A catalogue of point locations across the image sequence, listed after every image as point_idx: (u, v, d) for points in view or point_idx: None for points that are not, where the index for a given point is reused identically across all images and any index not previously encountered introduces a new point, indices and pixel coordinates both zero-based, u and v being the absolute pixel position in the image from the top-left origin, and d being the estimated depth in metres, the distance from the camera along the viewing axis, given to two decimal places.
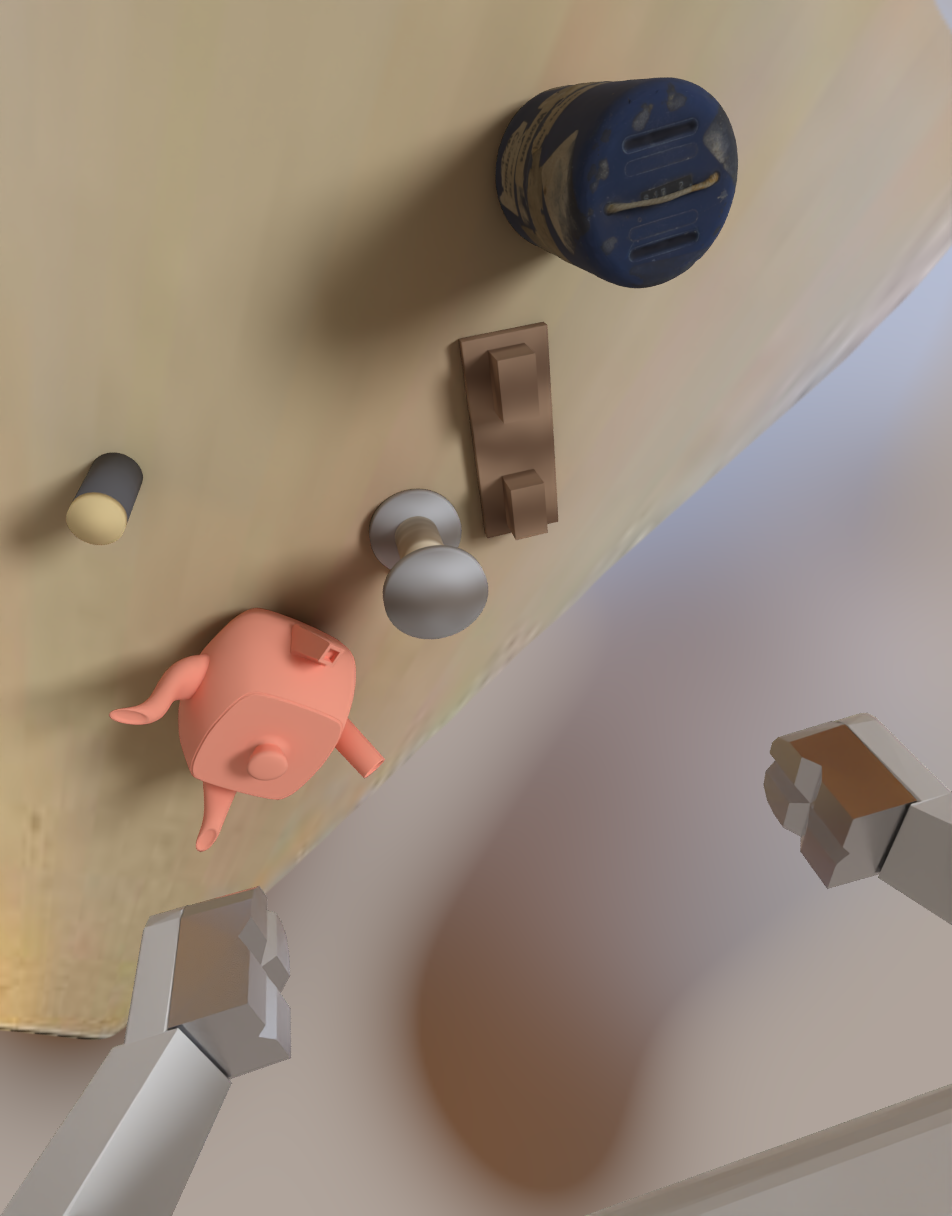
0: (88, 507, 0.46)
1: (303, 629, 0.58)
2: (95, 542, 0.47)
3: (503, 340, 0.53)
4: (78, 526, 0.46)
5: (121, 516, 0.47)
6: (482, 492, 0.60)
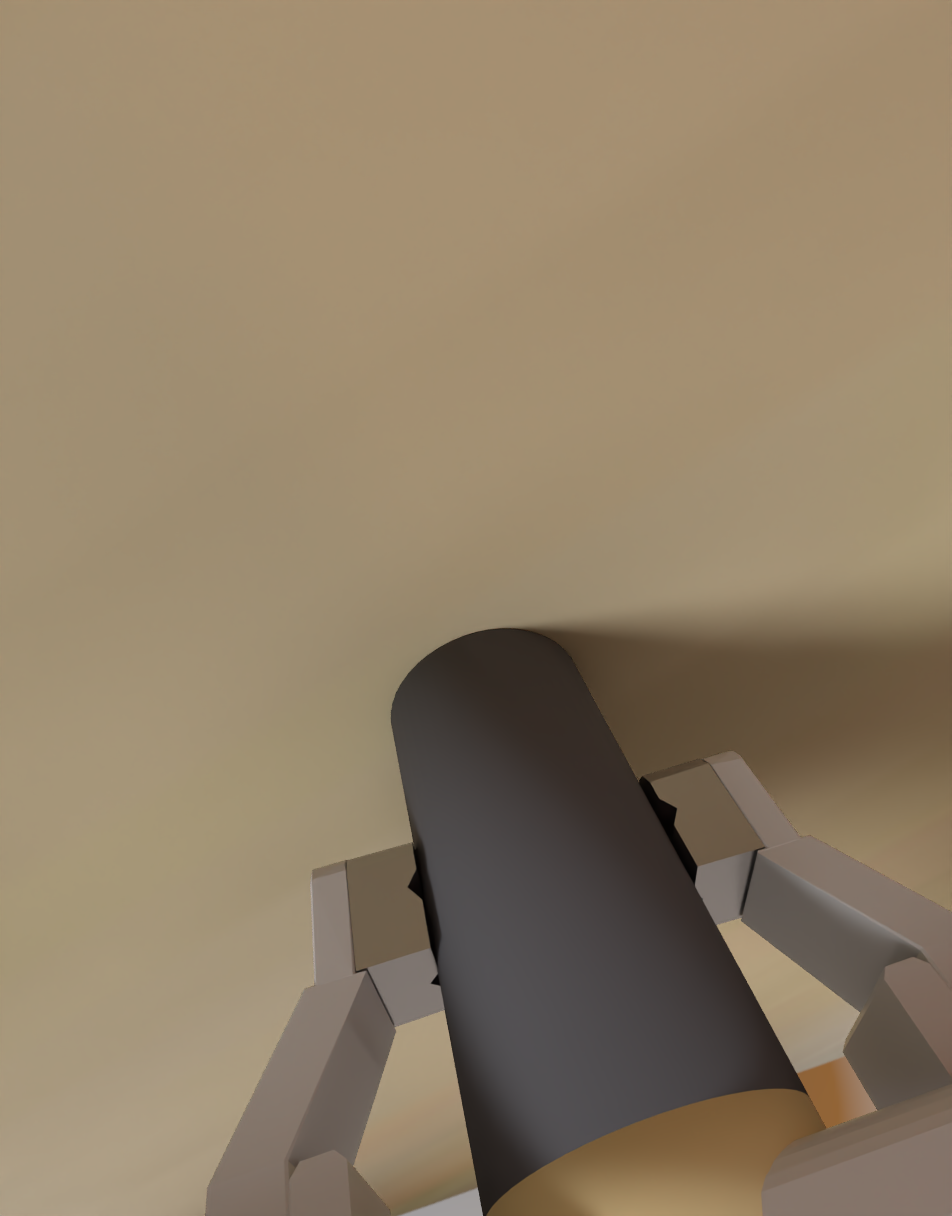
0: None
1: None
2: None
3: None
4: None
5: None
6: None
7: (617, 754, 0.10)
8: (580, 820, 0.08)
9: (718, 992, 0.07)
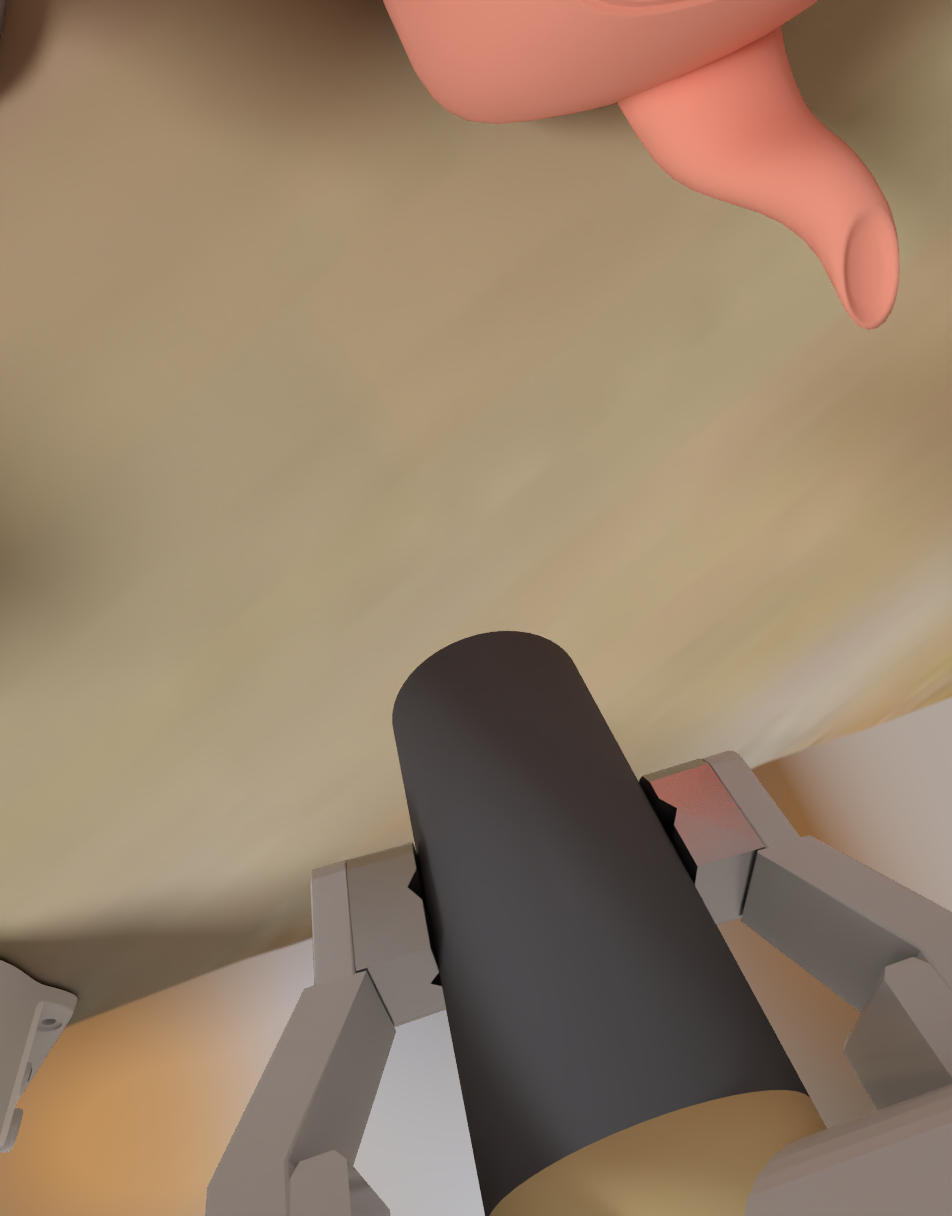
0: None
1: None
2: None
3: None
4: None
5: None
6: None
7: (618, 756, 0.10)
8: (581, 822, 0.08)
9: (720, 994, 0.07)
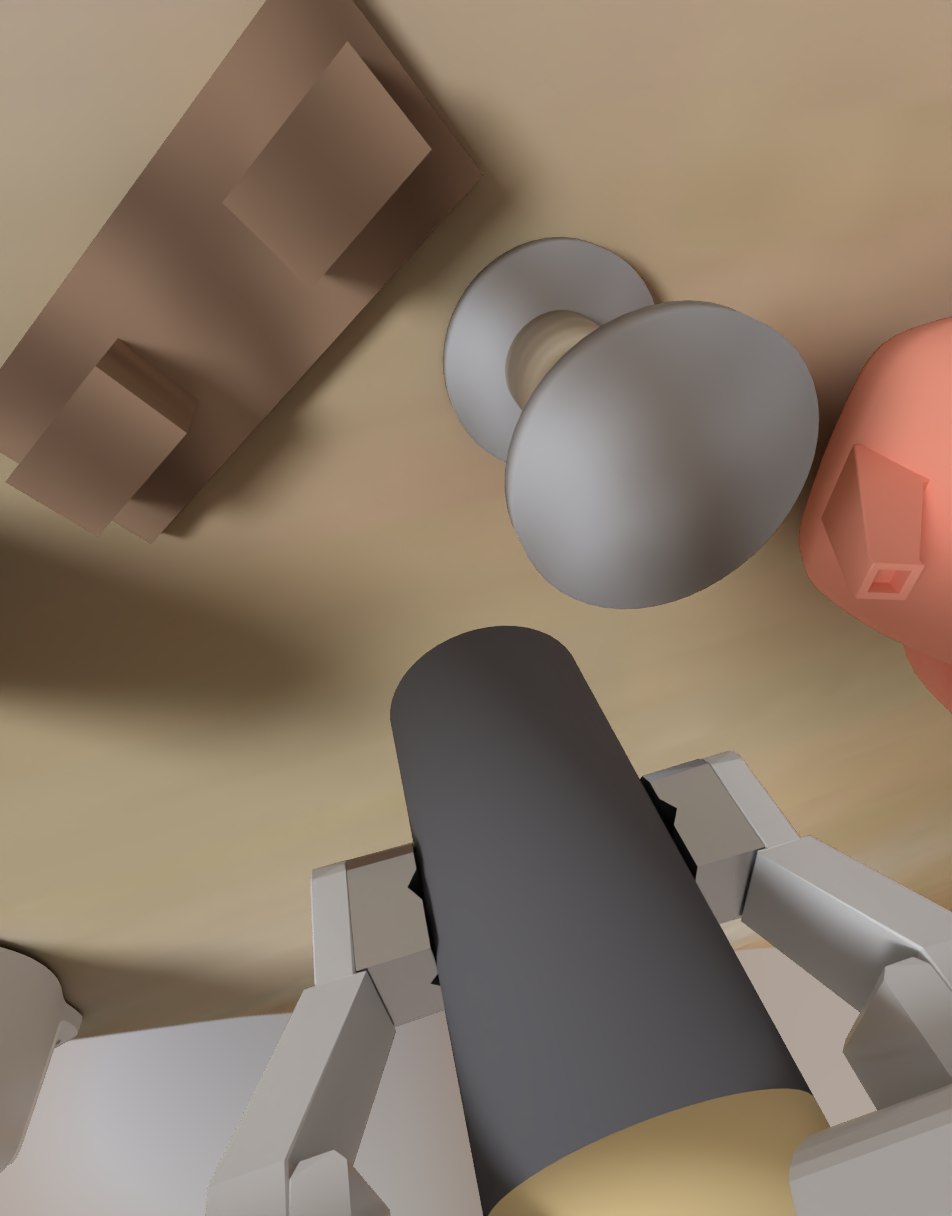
0: None
1: None
2: None
3: None
4: None
5: None
6: (378, 287, 0.23)
7: (618, 751, 0.10)
8: (580, 818, 0.08)
9: (721, 991, 0.07)
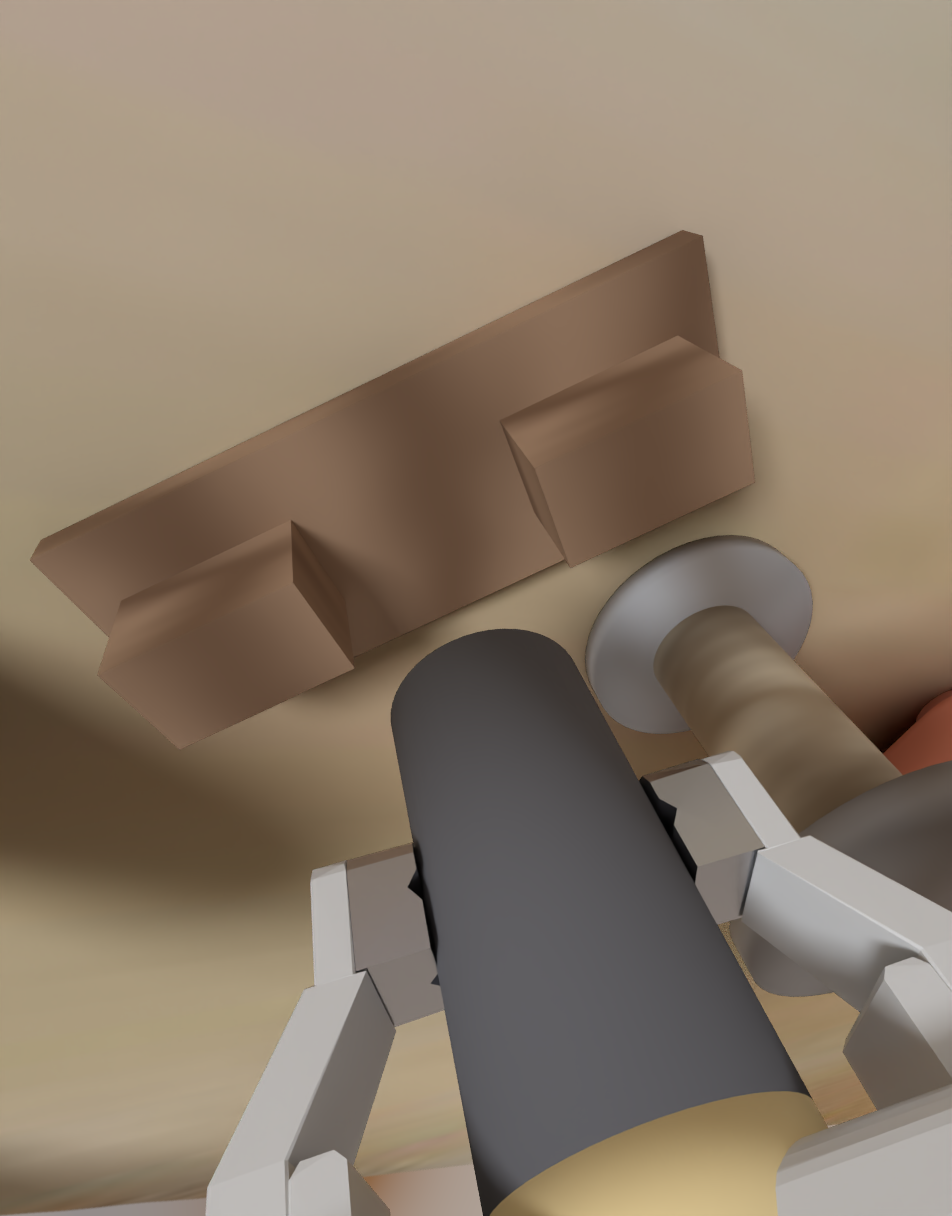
0: None
1: None
2: None
3: None
4: None
5: None
6: None
7: (618, 754, 0.10)
8: (581, 821, 0.08)
9: (720, 994, 0.07)
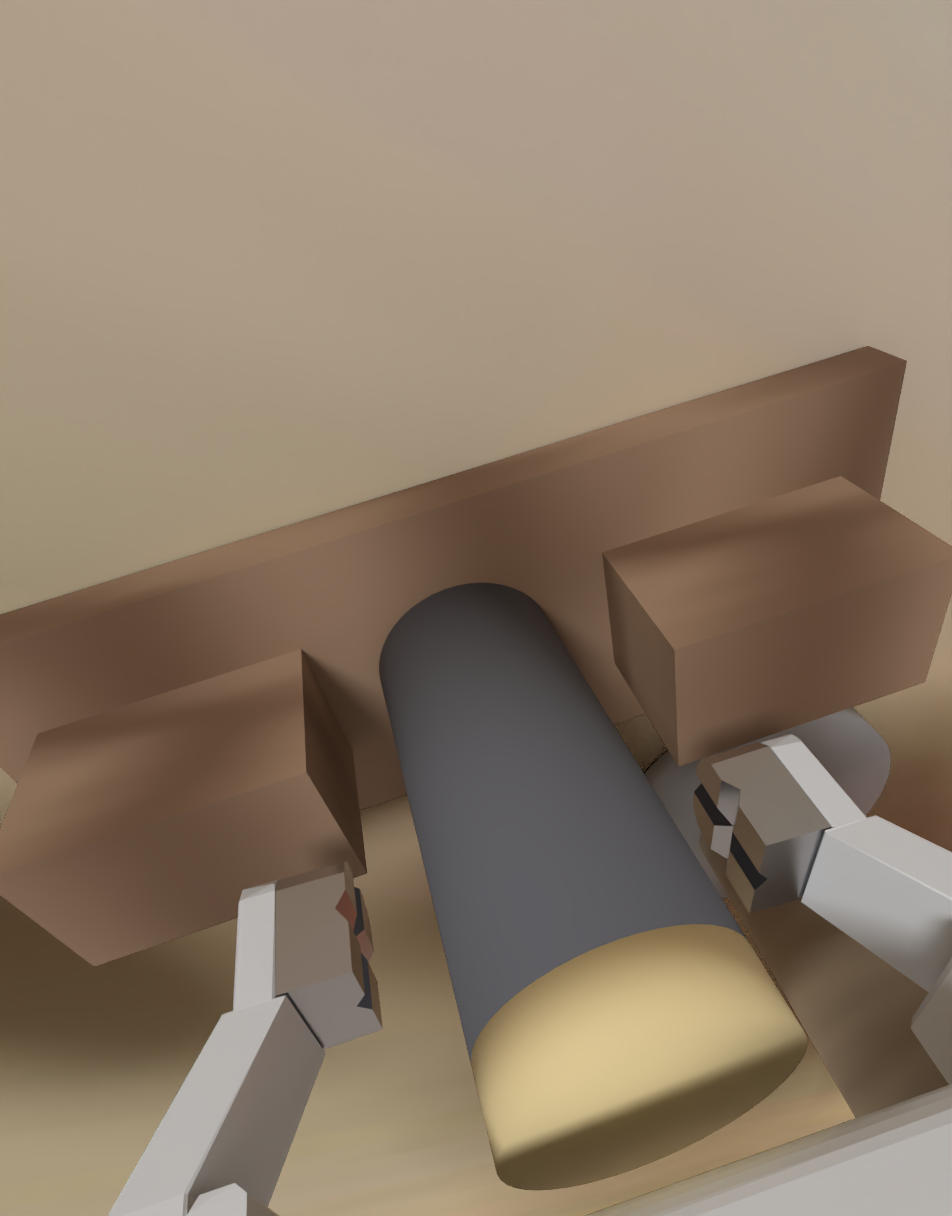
0: (592, 1163, 0.08)
1: None
2: (785, 1038, 0.07)
3: None
4: (728, 1103, 0.08)
5: (525, 1123, 0.06)
6: None
7: (584, 684, 0.11)
8: (549, 730, 0.09)
9: (669, 857, 0.08)
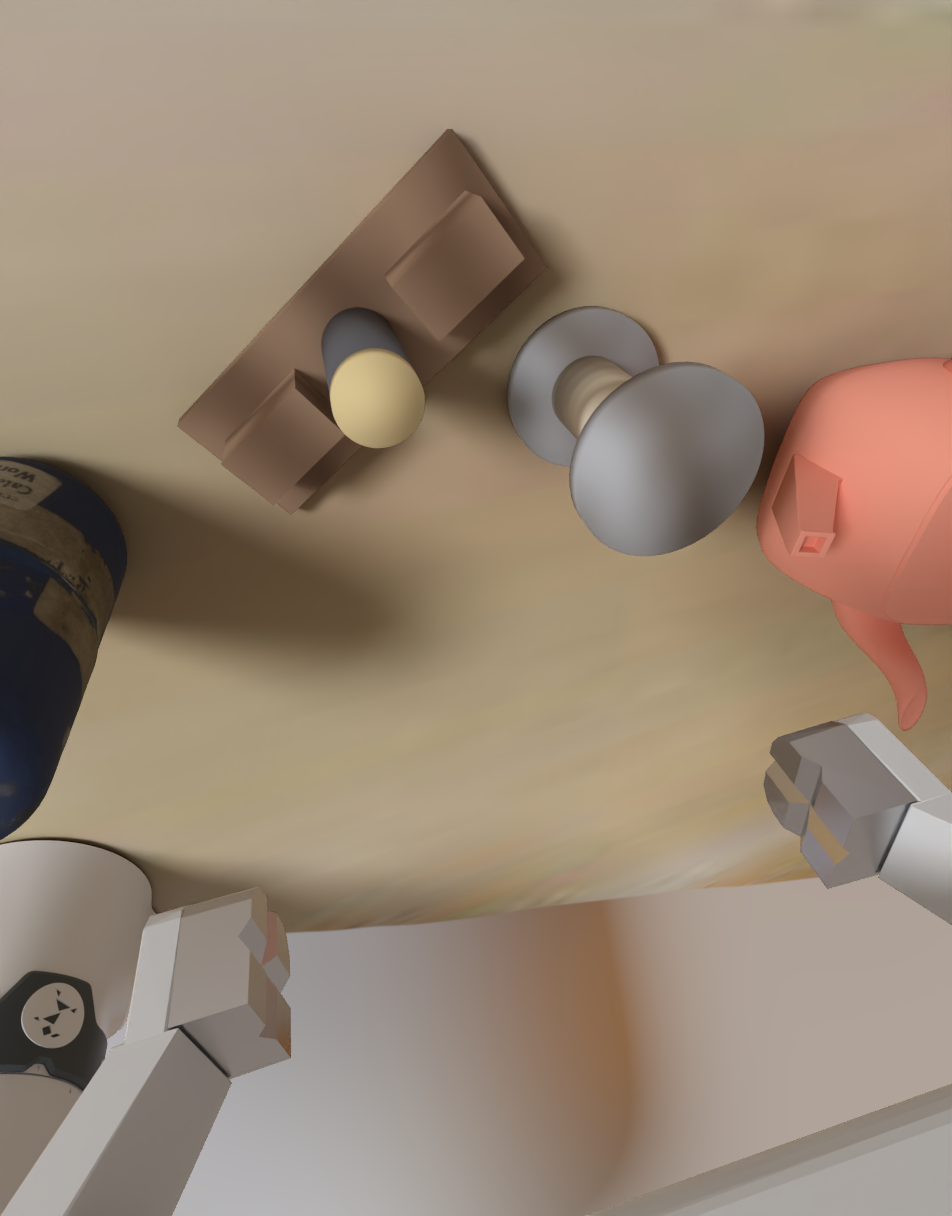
0: (378, 433, 0.26)
1: None
2: (396, 365, 0.25)
3: None
4: (409, 402, 0.26)
5: (332, 405, 0.25)
6: (471, 338, 0.33)
7: (375, 322, 0.29)
8: (347, 332, 0.28)
9: (371, 342, 0.26)
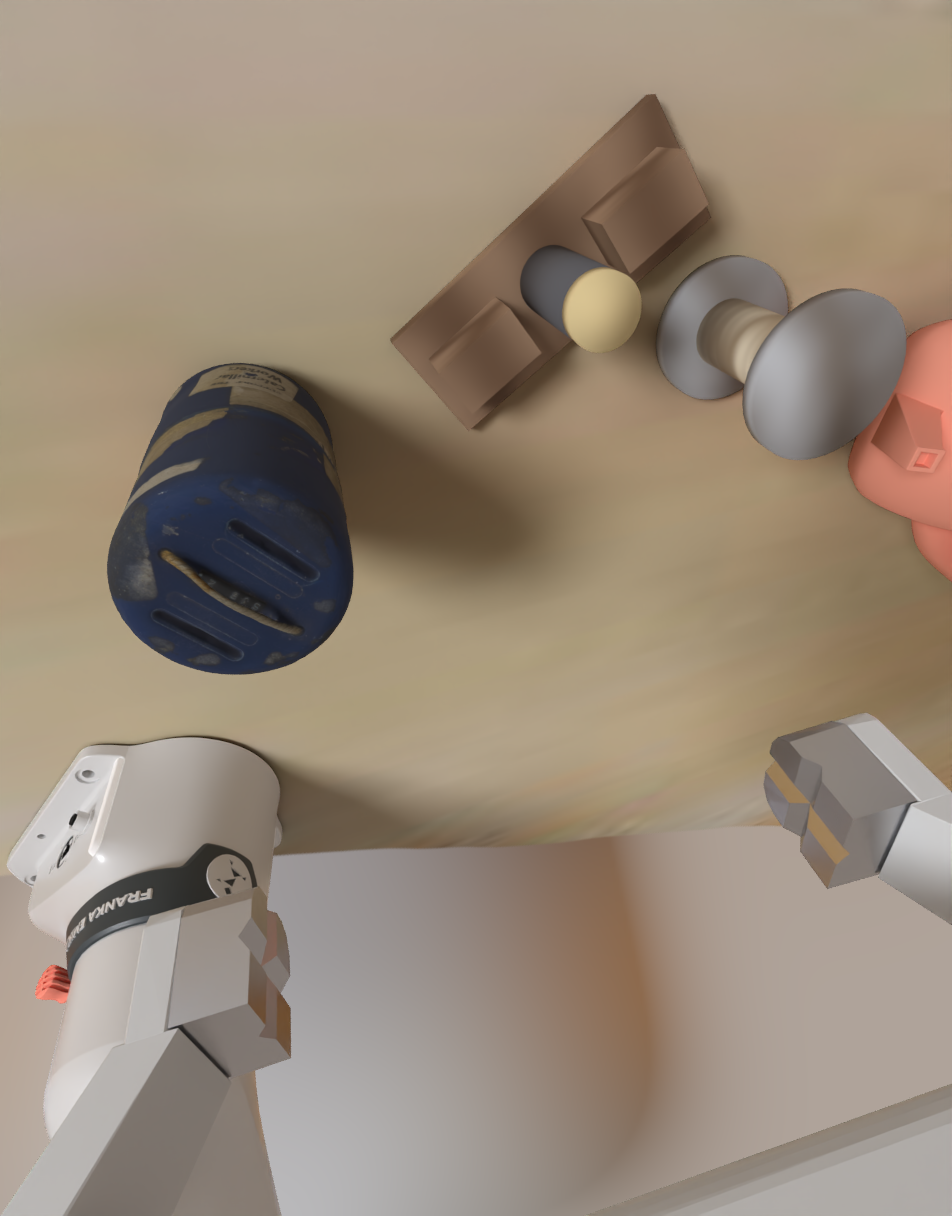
0: (600, 339, 0.32)
1: None
2: (626, 280, 0.31)
3: (440, 385, 0.40)
4: (628, 313, 0.32)
5: (570, 312, 0.31)
6: (640, 277, 0.39)
7: None
8: (566, 259, 0.33)
9: (597, 264, 0.32)
